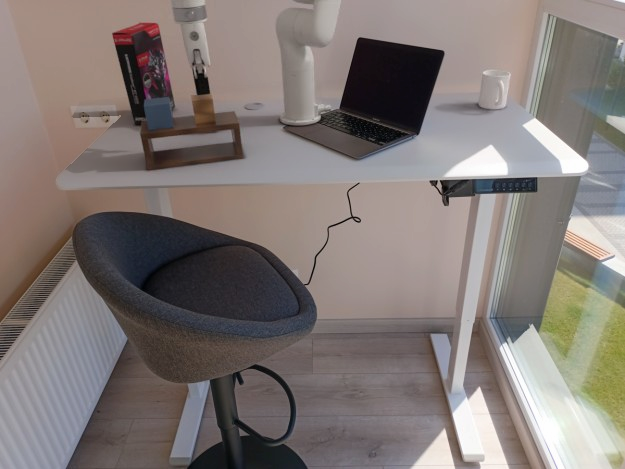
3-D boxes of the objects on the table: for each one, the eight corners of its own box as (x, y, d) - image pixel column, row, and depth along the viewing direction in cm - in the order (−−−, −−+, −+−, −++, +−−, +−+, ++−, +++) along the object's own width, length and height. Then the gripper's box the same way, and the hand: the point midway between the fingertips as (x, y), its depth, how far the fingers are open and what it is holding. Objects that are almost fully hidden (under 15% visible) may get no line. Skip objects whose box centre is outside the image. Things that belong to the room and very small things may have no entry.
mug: (512, 113, 154) (518, 79, 149) (485, 114, 155) (490, 80, 149) (500, 101, 164) (506, 69, 159) (475, 102, 165) (479, 70, 159)
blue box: (173, 120, 130) (169, 96, 127) (173, 127, 125) (169, 103, 122) (149, 122, 129) (144, 99, 126) (148, 130, 124) (143, 106, 121)
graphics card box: (152, 126, 155) (133, 32, 141) (132, 125, 157) (110, 32, 142) (176, 109, 170) (160, 21, 155) (157, 108, 171) (139, 22, 157)
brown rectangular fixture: (238, 144, 140) (234, 110, 135) (243, 158, 132) (239, 122, 127) (149, 155, 135) (141, 121, 130) (148, 170, 127) (140, 134, 122)
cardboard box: (214, 116, 132) (211, 93, 129) (215, 122, 128) (212, 98, 125) (194, 118, 131) (191, 95, 128) (195, 124, 127) (192, 100, 124)
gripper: (209, 19, 110) (220, 97, 119) (204, 7, 124) (214, 78, 133) (174, 22, 109) (188, 100, 118) (173, 10, 123) (185, 81, 132)
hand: (202, 88), depth 126 cm, fingers open, 9 cm apart
